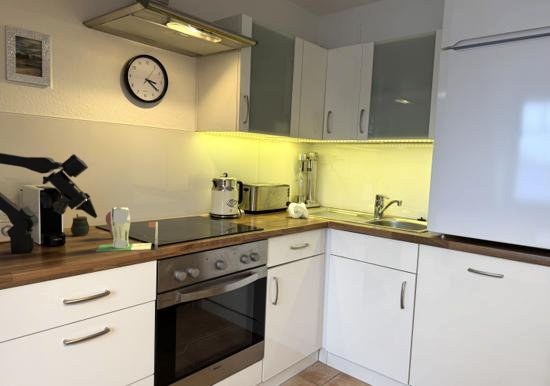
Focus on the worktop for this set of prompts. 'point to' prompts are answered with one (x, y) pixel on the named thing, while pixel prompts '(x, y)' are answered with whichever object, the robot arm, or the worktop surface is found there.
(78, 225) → the mate gourd
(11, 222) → the robot arm
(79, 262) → the worktop surface
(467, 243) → the worktop surface
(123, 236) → the beer glass
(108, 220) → the light bulb
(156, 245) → the putting mat
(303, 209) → the white lumpy piece
